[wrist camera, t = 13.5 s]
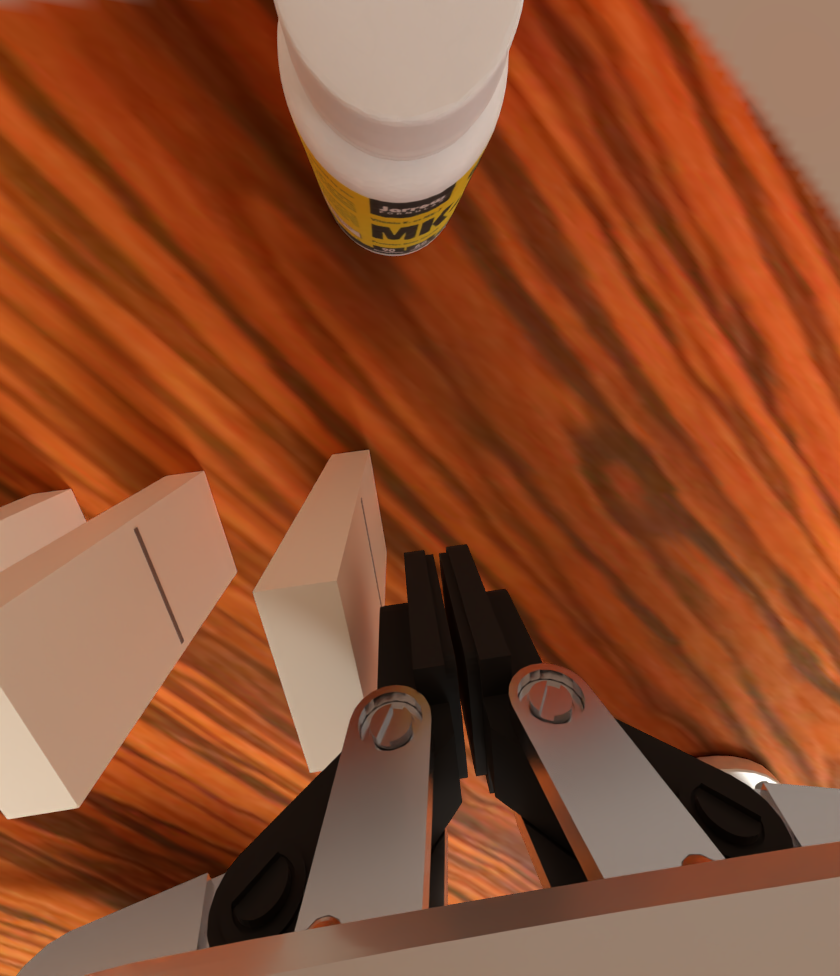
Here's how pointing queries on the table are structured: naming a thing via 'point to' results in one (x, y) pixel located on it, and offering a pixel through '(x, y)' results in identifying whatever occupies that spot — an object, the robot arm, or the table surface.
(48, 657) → the domino
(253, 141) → the table surface
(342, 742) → the domino
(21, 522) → the domino
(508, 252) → the table surface
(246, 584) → the table surface
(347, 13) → the supplement bottle
